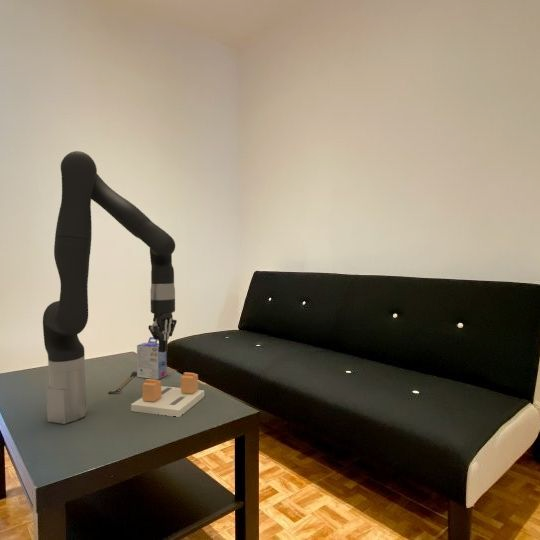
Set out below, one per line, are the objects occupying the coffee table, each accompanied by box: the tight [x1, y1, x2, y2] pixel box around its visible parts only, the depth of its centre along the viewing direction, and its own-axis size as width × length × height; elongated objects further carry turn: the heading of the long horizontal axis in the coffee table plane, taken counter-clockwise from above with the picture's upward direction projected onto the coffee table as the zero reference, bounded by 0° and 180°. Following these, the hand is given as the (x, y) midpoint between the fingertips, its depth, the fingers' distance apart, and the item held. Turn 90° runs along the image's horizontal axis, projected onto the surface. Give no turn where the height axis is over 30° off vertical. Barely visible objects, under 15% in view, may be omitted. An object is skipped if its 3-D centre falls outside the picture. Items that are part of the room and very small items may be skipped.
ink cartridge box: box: [136, 336, 168, 380], centre depth 147 cm, size 10×6×14 cm, turn 71°
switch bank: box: [130, 385, 205, 418], centre depth 121 cm, size 16×16×2 cm
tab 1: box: [141, 378, 162, 402], centre depth 119 cm, size 4×4×6 cm
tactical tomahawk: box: [107, 371, 137, 395], centre depth 140 cm, size 21×7×1 cm, turn 178°
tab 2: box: [180, 371, 199, 394], centre depth 125 cm, size 4×4×6 cm
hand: (163, 351), depth 125 cm, fingers closed
